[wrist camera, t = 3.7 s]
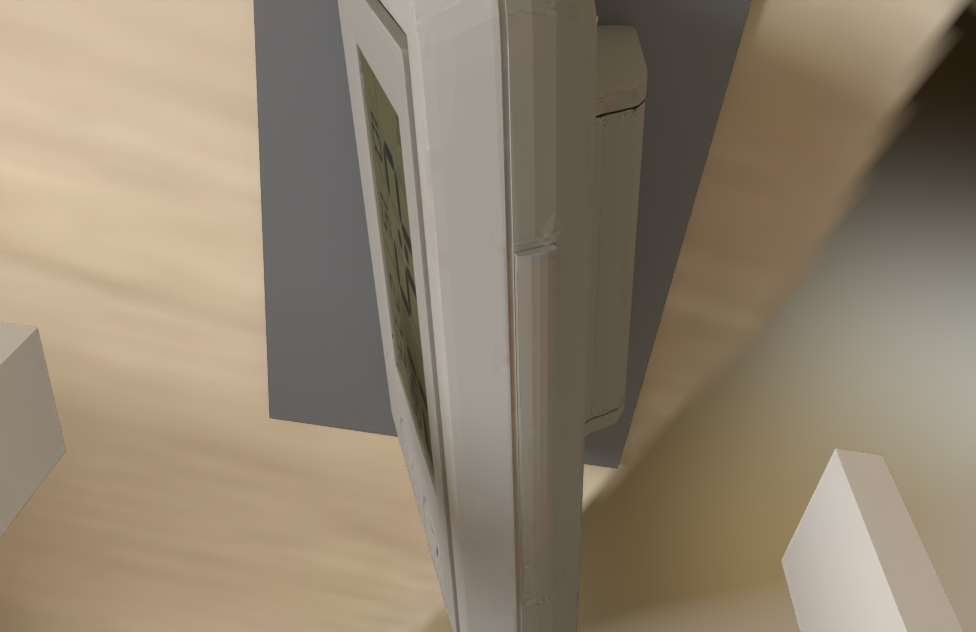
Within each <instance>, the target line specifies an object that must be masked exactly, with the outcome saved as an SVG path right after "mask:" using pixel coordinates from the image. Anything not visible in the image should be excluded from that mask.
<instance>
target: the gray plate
mask: <svg viewBox="0 0 976 632" xmlns="http://www.w3.org/2000/svg"><path fill="white" fill-rule="evenodd" d="M751 1H752V0H594V2H595V8H596V20H597V25H624V26H631V27H634V28H635V29H636V32H637V35H638V39H639V42H640V46H641V49H642V53H643V56H644V60H645V63H646V67H647V74H648V75H647V89H646V98H645V113H644V127H643V142H642V156H641V171H640V185H639V199H638V214H637V228H636V243H635V257H634V272H633V286H632V301H631V315H630V329H629V344H628V358H627V373H626V391H625V403H624V411H623V413H622V414H621V416H620V418H619V419H618V421H617V423H614V424H612V425H610V426H608V427H605V428H603V429H600V430H597V431H594V432H592V433H589V434H588V435H587V436H585V439H584V464H589V465H596V466H603V467H610V468H617V469H618V466H619V462H620V459H621V455H622V452H623V448H624V445H625V441H626V438H627V434H628V431H629V427H630V424H631V420H632V417H633V413H634V410H635V406H636V403H637V399H638V396H639V392H640V389H641V385H642V382H643V378H644V375H645V371H646V368H647V364H648V361H649V357H650V354H651V350H652V347H653V343H654V340H655V336H656V333H657V329H658V326H659V322H660V319H661V315H662V312H663V308H664V305H665V301H666V298H667V294H668V291H669V287H670V284H671V280H672V277H673V273H674V270H675V266H676V263H677V259H678V256H679V252H680V249H681V245H682V242H683V238H684V235H685V231H686V228H687V224H688V221H689V217H690V214H691V211H692V207H693V204H694V200H695V197H696V193H697V190H698V186H699V183H700V179H701V176H702V172H703V169H704V165H705V162H706V158H707V155H708V151H709V148H710V144H711V141H712V137H713V134H714V130H715V127H716V123H717V120H718V116H719V113H720V109H721V106H722V102H723V99H724V95H725V92H726V88H727V85H728V81H729V78H730V74H731V71H732V67H733V64H734V60H735V57H736V53H737V50H738V46H739V43H740V39H741V36H742V32H743V29H744V25H745V22H746V18H747V15H748V11H749V8H750V4H751ZM254 24H255V50H256V76H257V102H258V128H259V154H260V180H261V207H262V233H263V259H264V285H265V311H266V337H267V363H268V389H269V415H270V418H273V419H280V420H287V421H293V422H300V423H307V424H314V425H321V426H328V427H335V428H342V429H348V430H355V431H362V432H369V433H376V434H383V435H390V436H397V437H398V434H397V430H396V426H395V423H394V419H393V416H392V411H391V403H390V395H389V388H388V380H387V373H386V365H385V357H384V350H383V342H382V334H381V327H380V319H379V312H378V304H377V296H376V289H375V281H374V274H373V266H372V258H371V251H370V243H369V235H368V228H367V220H366V213H365V205H364V197H363V190H362V182H361V175H360V167H359V159H358V152H357V144H356V136H355V129H354V121H353V114H352V106H351V98H350V91H349V83H348V76H347V68H346V60H345V53H344V45H343V37H342V30H341V22H340V15H339V7H338V0H254Z"/></svg>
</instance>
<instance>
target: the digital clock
mask: <svg viewBox="0 0 976 632" xmlns="http://www.w3.org/2000/svg"><path fill="white" fill-rule="evenodd" d="M338 7H339V15H340V22H341V30H342V37H343V45H344V53H345V60H346V68H347V76H348V83H349V91H350V98H351V106H352V114H353V121H354V129H355V136H356V144H357V152H358V159H359V167H360V175H361V182H362V190H363V197H364V205H365V213H366V220H367V228H368V235H369V243H370V251H371V258H372V266H373V274H374V281H375V289H376V296H377V304H378V312H379V319H380V327H381V334H382V342H383V350H384V357H385V365H386V373H387V380H388V388H389V395H390V403H391V411H392V416H393V419H394V423H395V426H396V430H397V434H398V438H399V441H400V445H401V449H402V452H403V456H404V459H405V463H406V466H407V470H408V474H409V477H410V481H411V484H412V488H413V491H414V495H415V498H416V502H417V505H418V509H419V513H420V516H421V520H422V523H423V527H424V530H425V534H426V537H427V541H428V545H429V548H430V552H431V555H432V559H433V562H434V566H435V569H436V573H437V577H438V580H439V584H440V587H441V591H442V594H443V598H444V601H445V605H446V608H447V612H448V616H449V619H450V623H451V626H452V629H453V632H577V616H578V598H579V578H580V577H579V576H580V549H581V522H582V521H581V520H582V495H583V467H584V439H585V436H587V435H588V434H589V433H592V432H594V431H597V430H600V429H603V428H605V427H608V426H610V425H612V424H614V423H617V421H618V419H619V418H620V416H621V414H622V413H623V411H624V403H625V391H626V373H627V358H628V344H629V329H630V315H631V301H632V286H633V272H634V257H635V243H636V228H637V214H638V199H639V185H640V171H641V156H642V142H643V127H644V113H645V98H646V89H647V75H648V74H647V67H646V63H645V60H644V56H643V53H642V49H641V46H640V42H639V39H638V35H637V32H636V29H635V28H634V27H631V26H624V25H597V20H596V8H595V2H594V0H338Z"/></svg>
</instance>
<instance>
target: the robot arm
mask: <svg viewBox="0 0 976 632" xmlns="http://www.w3.org/2000/svg"><path fill="white" fill-rule="evenodd" d="M65 452H66V449H65V445H64V440H63V436H62V432H61V427H60V423H59V418H58V414H57V410H56V405H55V401H54V397H53V392H52V388H51V384H50V379H49V375H48V370H47V366H46V362H45V357H44V353H43V349H42V344H41V340H40V335H39V331H38V327H32V326H26V325H19V324H13V323H6V322H0V537H1V535H2V534H3V533H4V531H5V530H6V529H7V527H8V526H9V525H10V523H11V522H12V521H13V520H14V518H15V517H16V516H17V514H18V513H19V512H20V510H21V509H22V508H23V507H24V505H25V504H26V503H27V501H28V500H29V499H30V497H31V496H32V495H33V493H34V492H35V491H36V490H37V488H38V487H39V486H40V484H41V483H42V482H43V480H44V479H45V478H46V476H47V475H48V474H49V473H50V471H51V470H52V469H53V467H54V466H55V465H56V463H57V462H58V461H59V459H60V458H61V457H62V456H63V454H64V453H65ZM781 562H782V566H783V569H784V573H785V577H786V581H787V584H788V588H789V592H790V596H791V600H792V603H793V607H794V611H795V615H796V619H797V622H798V626H799V630H800V632H963V631H962V629H961V627H960V624H959V622H958V620H957V618H956V616H955V613H954V611H953V609H952V607H951V605H950V602H949V600H948V598H947V596H946V594H945V592H944V590H943V587H942V585H941V583H940V581H939V578H938V576H937V574H936V572H935V570H934V568H933V565H932V563H931V561H930V559H929V556H928V554H927V552H926V550H925V548H924V545H923V543H922V541H921V539H920V537H919V534H918V533H917V530H916V528H915V526H914V524H913V521H912V519H911V517H910V515H909V513H908V511H907V508H906V506H905V504H904V502H903V499H902V497H901V495H900V493H899V491H898V488H897V486H896V484H895V482H894V480H893V478H892V475H891V473H890V471H889V469H888V467H887V464H886V462H885V460H884V458H883V456H882V455H877V454H870V453H864V452H857V451H851V450H844V449H837V448H835V450H834V452H833V454H832V456H831V458H830V460H829V463H828V464H827V466H826V469H825V471H824V473H823V475H822V477H821V479H820V481H819V483H818V485H817V487H816V489H815V492H814V494H813V496H812V498H811V500H810V502H809V504H808V506H807V508H806V510H805V512H804V514H803V516H802V518H801V520H800V522H799V525H798V527H797V529H796V531H795V533H794V535H793V537H792V539H791V541H790V543H789V545H788V547H787V549H786V551H785V554H784V556H783V558H782V560H781Z"/></svg>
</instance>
